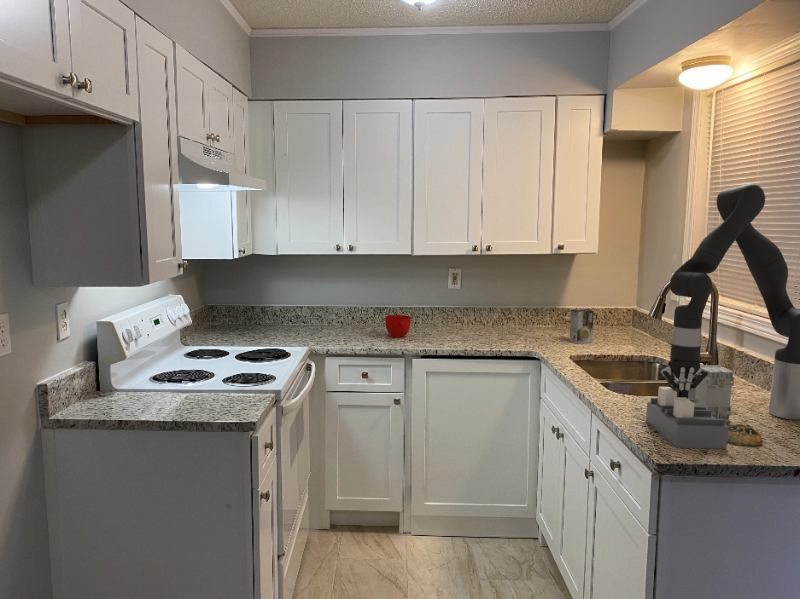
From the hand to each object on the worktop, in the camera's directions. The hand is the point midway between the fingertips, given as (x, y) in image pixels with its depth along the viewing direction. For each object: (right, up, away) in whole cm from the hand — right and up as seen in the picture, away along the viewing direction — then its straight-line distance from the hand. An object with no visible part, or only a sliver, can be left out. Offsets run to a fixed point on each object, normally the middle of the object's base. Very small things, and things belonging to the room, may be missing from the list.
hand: (681, 402), depth 162 cm
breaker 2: (-4, -3, -9) cm, 11 cm away
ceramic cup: (-81, +10, +123) cm, 147 cm away
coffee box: (+9, +8, +119) cm, 119 cm away
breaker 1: (-4, -2, 0) cm, 4 cm away
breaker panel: (-1, -8, -4) cm, 9 cm away
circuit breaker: (+14, -6, +15) cm, 21 cm away
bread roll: (+12, -9, -7) cm, 17 cm away
